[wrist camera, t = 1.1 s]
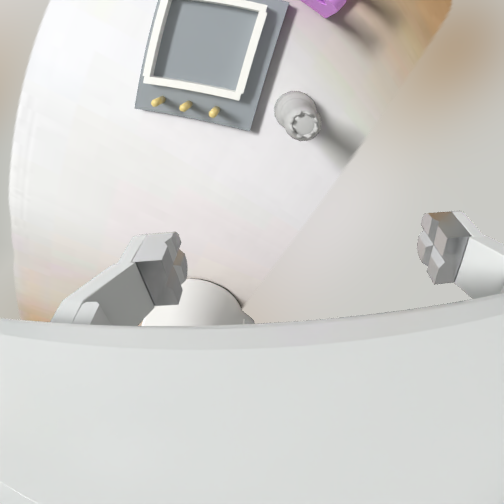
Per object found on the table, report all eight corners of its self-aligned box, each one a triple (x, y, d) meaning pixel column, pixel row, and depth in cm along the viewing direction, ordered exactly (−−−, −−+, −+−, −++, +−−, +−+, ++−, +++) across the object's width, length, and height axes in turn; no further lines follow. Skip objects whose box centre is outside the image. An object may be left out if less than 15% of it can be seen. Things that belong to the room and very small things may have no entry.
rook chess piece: (269, 95, 30) (271, 106, 23) (310, 86, 29) (325, 95, 23) (279, 133, 32) (284, 155, 26) (318, 125, 32) (334, 145, 25)
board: (250, 129, 32) (248, 137, 29) (137, 106, 30) (125, 112, 28) (288, 3, 24) (291, -2, 21) (166, -17, 22) (156, -24, 19)
